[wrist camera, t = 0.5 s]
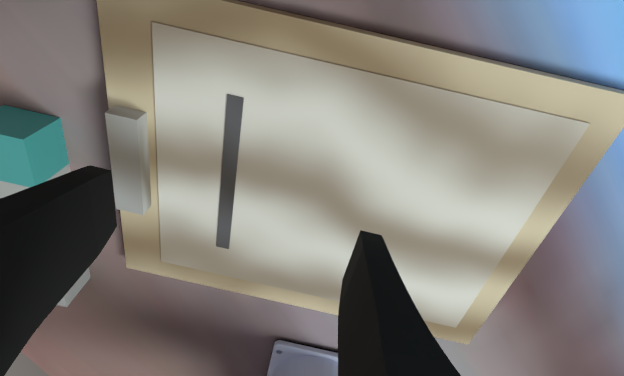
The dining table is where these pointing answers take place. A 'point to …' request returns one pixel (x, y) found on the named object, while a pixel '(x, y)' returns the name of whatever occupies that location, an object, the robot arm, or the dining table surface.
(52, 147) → the eraser
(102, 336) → the dining table surface
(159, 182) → the cream rectangular tray
